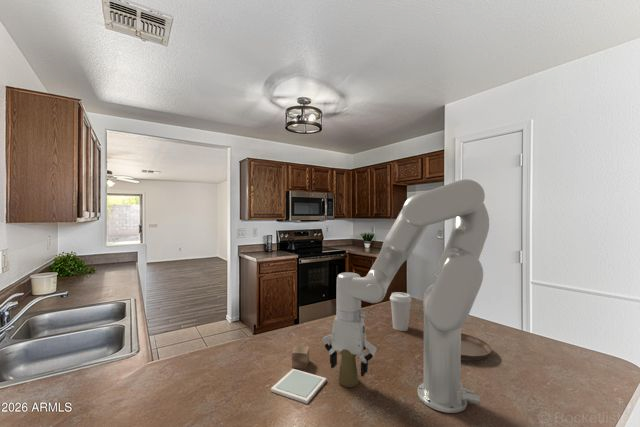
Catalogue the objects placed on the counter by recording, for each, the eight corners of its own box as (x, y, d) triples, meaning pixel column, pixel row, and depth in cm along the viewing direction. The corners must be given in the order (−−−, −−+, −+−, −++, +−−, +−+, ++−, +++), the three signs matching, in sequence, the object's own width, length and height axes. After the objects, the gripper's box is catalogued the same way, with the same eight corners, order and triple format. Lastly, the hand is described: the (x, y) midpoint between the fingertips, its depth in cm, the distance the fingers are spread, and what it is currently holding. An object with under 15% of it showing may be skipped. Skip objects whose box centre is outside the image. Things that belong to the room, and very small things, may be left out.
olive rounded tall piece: (357, 388, 85) (357, 350, 85) (337, 385, 86) (337, 348, 86) (359, 376, 91) (359, 341, 91) (339, 374, 92) (340, 339, 92)
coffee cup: (414, 332, 125) (414, 297, 125) (392, 332, 125) (392, 297, 125) (408, 324, 134) (408, 291, 134) (387, 324, 134) (387, 291, 134)
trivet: (326, 380, 88) (326, 377, 88) (307, 403, 78) (307, 400, 78) (292, 371, 94) (292, 368, 94) (270, 391, 83) (270, 388, 83)
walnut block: (309, 361, 100) (309, 346, 100) (306, 368, 95) (306, 353, 95) (294, 360, 101) (295, 345, 101) (291, 367, 96) (292, 352, 96)
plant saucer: (450, 334, 123) (450, 327, 123) (502, 355, 106) (502, 346, 106) (418, 346, 112) (418, 338, 112) (470, 371, 95) (471, 361, 95)
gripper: (379, 314, 88) (379, 371, 88) (328, 306, 96) (327, 358, 96) (372, 323, 81) (372, 384, 81) (317, 313, 89) (317, 369, 89)
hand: (348, 370), depth 88 cm, fingers open, 9 cm apart
